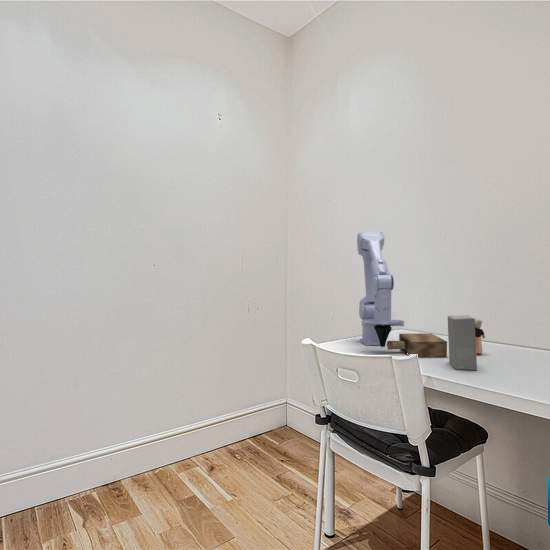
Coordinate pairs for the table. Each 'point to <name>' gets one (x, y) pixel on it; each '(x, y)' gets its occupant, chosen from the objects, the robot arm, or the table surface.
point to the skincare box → (462, 342)
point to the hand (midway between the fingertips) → (382, 346)
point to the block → (424, 345)
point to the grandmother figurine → (478, 336)
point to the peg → (395, 345)
